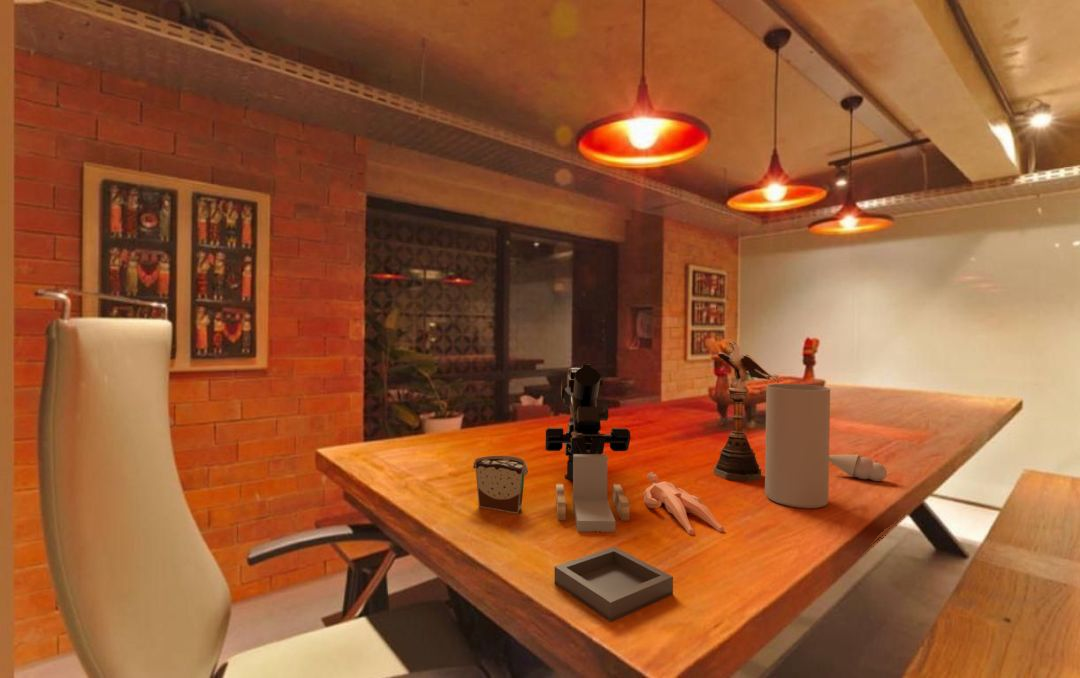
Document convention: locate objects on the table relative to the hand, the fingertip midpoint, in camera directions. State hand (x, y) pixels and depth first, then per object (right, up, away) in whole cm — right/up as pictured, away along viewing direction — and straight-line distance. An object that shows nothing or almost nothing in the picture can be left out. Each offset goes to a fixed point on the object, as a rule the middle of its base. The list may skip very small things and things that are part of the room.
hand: (589, 473), depth 108 cm
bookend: (0, -7, -7) cm, 10 cm away
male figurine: (+18, -8, -2) cm, 19 cm away
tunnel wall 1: (-6, -7, -2) cm, 10 cm away
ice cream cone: (+69, -7, +22) cm, 73 cm away
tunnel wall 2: (+6, -7, -2) cm, 10 cm away
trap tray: (0, -7, -34) cm, 35 cm away
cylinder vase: (+46, -7, +4) cm, 47 cm away
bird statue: (+43, -7, +25) cm, 50 cm away
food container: (-18, -7, 0) cm, 19 cm away
